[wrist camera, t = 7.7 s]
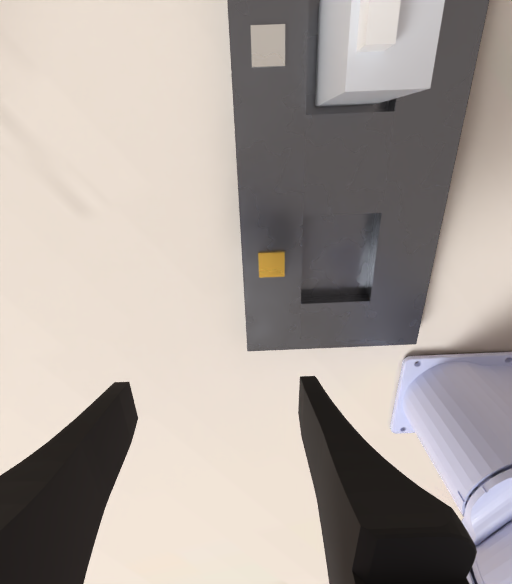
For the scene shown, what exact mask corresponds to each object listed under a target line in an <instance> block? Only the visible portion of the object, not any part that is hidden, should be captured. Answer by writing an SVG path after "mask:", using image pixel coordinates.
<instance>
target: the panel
mask: <svg viewBox="0 0 512 584" xmlns="http://www.w3.org/2000/svg"><path fill="white" fill-rule="evenodd" d="M319 2H320V0H228V18H229V35H230V53H231V70H232V88H233V105H234V123H235V140H236V158H237V175H238V193H239V210H240V228H241V245H242V263H243V280H244V298H245V315H246V333H247V350H248V351H265V350H288V349H312V348H336V347H359V346H383V345H407V344H416V342H417V338H418V333H419V328H420V324H421V319H422V314H423V309H424V305H425V300H426V295H427V291H428V286H429V281H430V276H431V272H432V267H433V262H434V258H435V253H436V248H437V244H438V239H439V234H440V229H441V225H442V220H443V215H444V211H445V206H446V201H447V197H448V192H449V187H450V182H451V178H452V173H453V168H454V164H455V159H456V154H457V150H458V145H459V140H460V135H461V131H462V126H463V121H464V117H465V112H466V107H467V102H468V98H469V93H470V88H471V84H472V79H473V74H474V70H475V65H476V60H477V55H478V51H479V46H480V41H481V37H482V32H483V27H484V23H485V18H486V13H487V8H488V4H489V0H445V3H444V9H443V15H442V21H441V27H440V33H439V39H438V45H437V51H436V57H435V63H434V69H433V75H432V81H431V87H430V89H427V90H423V91H420V92H416V93H413V94H409V95H406V96H402V97H399V98H395V99H392V100H388V101H385V102H382V103H378V104H375V105H355V106H329V107H315V95H316V68H317V41H318V14H319Z"/></svg>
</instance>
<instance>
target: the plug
mask: <svg viewBox="0 0 512 584" xmlns="http://www.w3.org/2000/svg"><path fill="white" fill-rule="evenodd" d="M444 3H445V0H320V2H319V14H318V41H317V68H316V95H315V107H329V106H355V105H375V104H378V103H382V102H385V101H388V100H392V99H395V98H399V97H402V96H406V95H409V94H413V93H416V92H420V91H423V90H427V89H430V87H431V81H432V75H433V69H434V63H435V57H436V51H437V45H438V39H439V33H440V27H441V21H442V15H443V9H444Z"/></svg>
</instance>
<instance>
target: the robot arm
mask: <svg viewBox="0 0 512 584" xmlns="http://www.w3.org/2000/svg"><path fill="white" fill-rule="evenodd" d="M506 358H507V359H506ZM417 361H418V362H417ZM415 362H417V363H415ZM298 413H299V421H300V428H301V435H302V440H303V444H304V448H305V452H306V456H307V460H308V464H309V468H310V472H311V476H312V480H313V484H314V488H315V493H316V498H317V503H318V509H319V516H320V522H321V528H322V535H323V542H324V549H325V555H326V562H327V569H328V577H329V584H512V352H496V353H473V354H449V355H426V356H409V357H406V358H405V359H404V360H403V363H402V369H401V374H400V379H399V384H398V389H397V394H396V399H395V404H394V409H393V414H392V419H391V424H390V429H391V431H392V432H393V433H416V435H417V437H418V438H419V440H420V442H421V444H422V445H423V447H424V449H425V451H426V452H427V454H428V456H429V458H430V459H431V461H432V463H433V465H434V466H435V468H436V470H437V472H438V473H439V475H440V477H441V479H442V480H443V482H444V484H445V486H446V487H447V489H448V491H449V493H450V494H451V496H452V498H453V500H454V501H455V503H456V505H457V507H458V508H459V510H460V512H461V514H462V515H463V519H462V521H460V519H459V518H458V516H457V515H456V513H455V512H454V510H453V509H452V508H451V507H449V506H448V505H446V504H445V503H443V502H442V501H440V500H439V499H437V498H436V497H434V496H433V495H431V494H430V493H428V492H427V491H425V490H424V489H422V488H421V487H419V486H418V485H417V484H415V483H414V482H413V481H411V480H410V479H409V478H407V477H406V476H405V475H404V474H402V473H401V472H400V471H399V470H397V469H396V468H395V467H394V466H393V465H391V464H390V463H389V462H388V461H387V460H385V459H384V458H383V457H382V456H381V455H380V454H379V453H378V452H377V451H376V450H375V449H374V448H373V447H371V446H370V445H369V444H368V443H367V442H366V441H365V440H364V439H363V437H362V436H361V435H360V434H359V433H358V432H357V431H356V430H355V429H354V428H353V426H352V425H351V424H350V423H349V422H348V421H347V420H346V418H345V417H344V416H343V415H342V413H341V412H340V411H339V410H338V408H337V407H336V406H335V404H334V403H333V402H332V400H331V399H330V398H329V396H328V395H327V393H326V392H325V390H324V389H323V387H322V386H321V384H320V383H319V381H318V379H317V378H316V377H315V376H304V377H300V390H299V411H298ZM137 420H138V416H137V412H136V408H135V404H134V400H133V396H132V392H131V388H130V383H129V382H115V383H114V384H112V385H111V386H110V387H109V388H108V389H107V390H106V391H105V392H104V393H103V394H102V395H101V396H100V397H99V398H97V399H96V400H95V401H94V402H93V403H92V404H91V405H90V406H89V407H88V408H87V409H86V410H85V411H83V412H82V413H81V414H80V415H79V416H78V417H77V418H76V419H75V420H74V421H72V422H71V423H70V424H69V425H68V426H66V427H65V428H64V429H63V430H62V431H61V432H59V433H58V434H57V435H56V436H55V437H54V438H52V439H51V440H50V441H49V442H47V443H46V444H45V445H43V446H42V447H41V448H40V449H38V450H37V451H35V452H34V453H33V454H31V455H30V456H29V457H27V458H26V459H24V460H23V461H22V462H20V463H19V464H17V465H16V466H14V467H13V468H11V469H10V470H8V471H7V472H5V473H4V474H2V475H1V476H0V584H83V583H84V579H85V575H86V571H87V567H88V564H89V560H90V557H91V553H92V550H93V546H94V543H95V539H96V536H97V532H98V529H99V526H100V523H101V519H102V516H103V513H104V510H105V507H106V504H107V501H108V499H109V496H110V494H111V491H112V489H113V486H114V484H115V481H116V479H117V477H118V474H119V472H120V469H121V467H122V464H123V462H124V460H125V457H126V455H127V452H128V450H129V447H130V445H131V442H132V438H133V435H134V431H135V428H136V424H137Z"/></svg>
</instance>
